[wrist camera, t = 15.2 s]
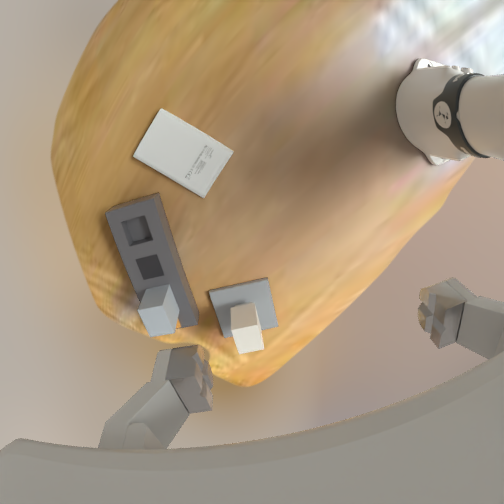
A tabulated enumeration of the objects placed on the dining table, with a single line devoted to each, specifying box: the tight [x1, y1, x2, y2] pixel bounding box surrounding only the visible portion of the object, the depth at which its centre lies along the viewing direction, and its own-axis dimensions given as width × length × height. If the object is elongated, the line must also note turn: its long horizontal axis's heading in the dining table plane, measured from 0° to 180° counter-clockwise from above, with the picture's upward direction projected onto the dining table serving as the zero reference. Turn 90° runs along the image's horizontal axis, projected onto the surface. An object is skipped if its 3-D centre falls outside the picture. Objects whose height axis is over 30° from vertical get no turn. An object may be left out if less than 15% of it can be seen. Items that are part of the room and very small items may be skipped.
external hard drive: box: [133, 108, 234, 198], centre depth 42 cm, size 2×8×12 cm
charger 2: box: [231, 302, 264, 354], centre depth 49 cm, size 4×5×8 cm
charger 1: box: [137, 284, 180, 337], centre depth 45 cm, size 4×5×6 cm
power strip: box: [105, 193, 199, 329], centre depth 47 cm, size 8×22×4 cm, turn 12°
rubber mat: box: [209, 278, 278, 338], centre depth 53 cm, size 10×10×1 cm
